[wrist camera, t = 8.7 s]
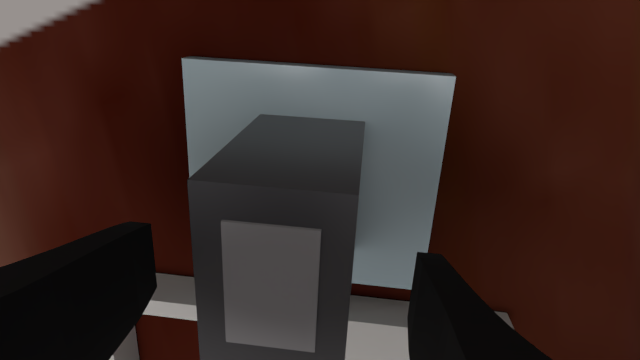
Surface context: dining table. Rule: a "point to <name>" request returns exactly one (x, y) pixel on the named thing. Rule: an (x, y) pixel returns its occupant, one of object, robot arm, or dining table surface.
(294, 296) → the block
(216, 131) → the tile
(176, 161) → the dining table surface
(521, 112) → the dining table surface
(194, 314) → the power strip
